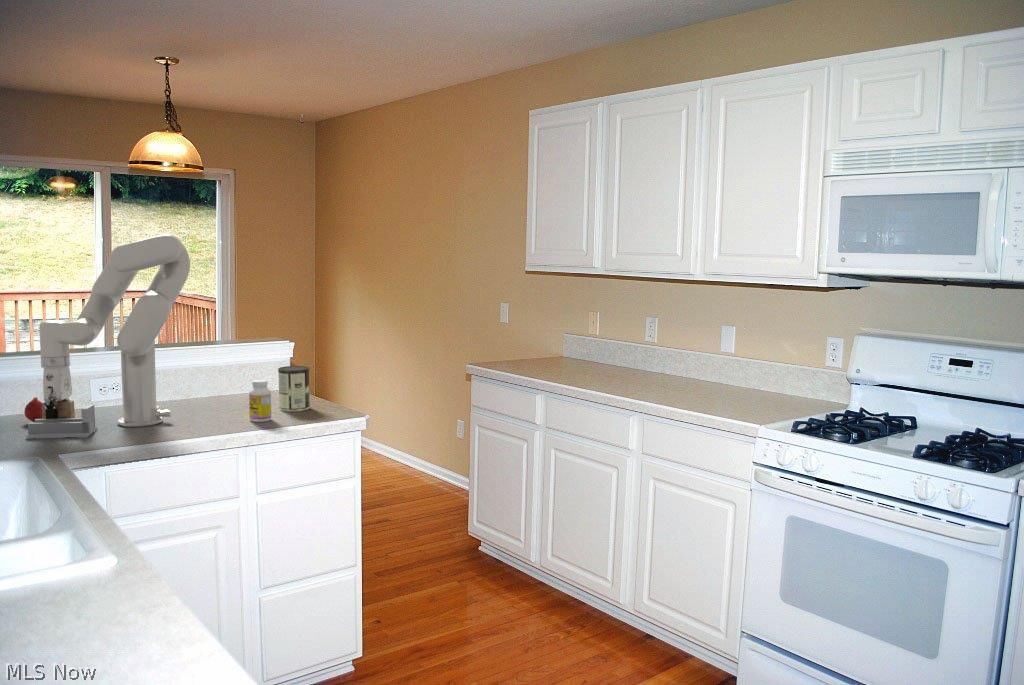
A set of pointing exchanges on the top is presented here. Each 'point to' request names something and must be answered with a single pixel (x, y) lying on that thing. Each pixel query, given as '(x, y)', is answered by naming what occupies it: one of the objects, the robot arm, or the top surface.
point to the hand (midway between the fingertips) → (58, 418)
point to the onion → (33, 410)
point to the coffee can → (293, 388)
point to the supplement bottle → (260, 401)
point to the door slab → (62, 409)
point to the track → (64, 426)
